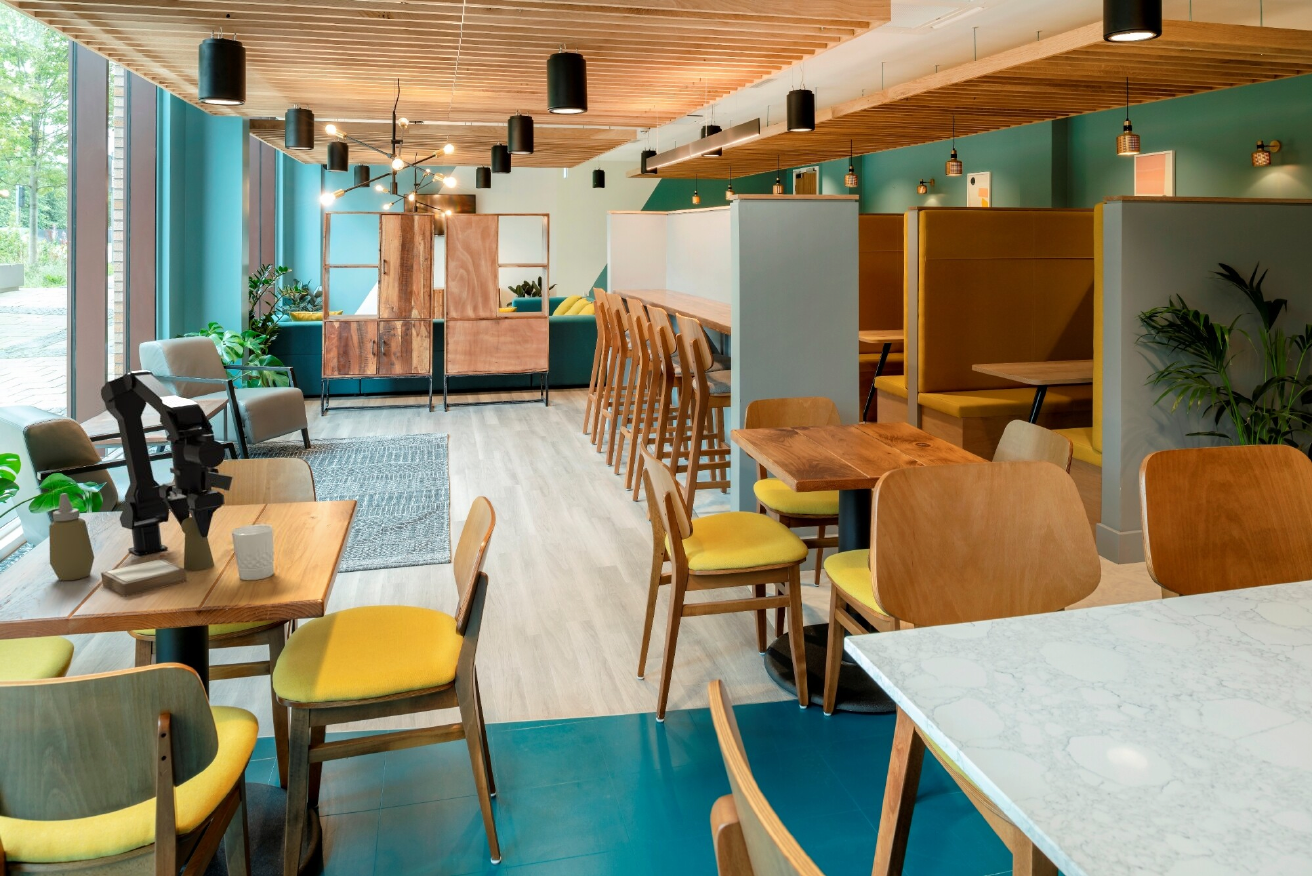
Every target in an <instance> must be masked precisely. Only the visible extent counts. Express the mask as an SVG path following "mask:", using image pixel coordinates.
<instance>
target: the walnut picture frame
mask: <svg viewBox="0 0 1312 876" xmlns="http://www.w3.org/2000/svg"><path fill="white" fill-rule="evenodd" d="M100 575H101V583H102V584H101V585H104V586H105V587H107V588H108V589H111V590H113V591H114V592H115V593H118V594H120V595H122V596H123V595H124V597H128V596H127V595H129V596H132V594H133V595H136V594H140V592H141V593H144V592H149V591H153V590H156V589H160V588H164V587H168V586H172V585H176V584H181V583H184V582H187V581H188V580H187V571H186V569H184V567H181V566H179V565H177V564H175V563H172V562H170V561H168V560H167V559H166V560H165V559H163V558H158V559H154V560H149V561H144V562H140V563H135V564H132V565H127V566H123V567H120V568H119V567H118V568H115V569H111V570H106V571H101V572H100ZM180 582H181V583H180Z"/></svg>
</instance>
